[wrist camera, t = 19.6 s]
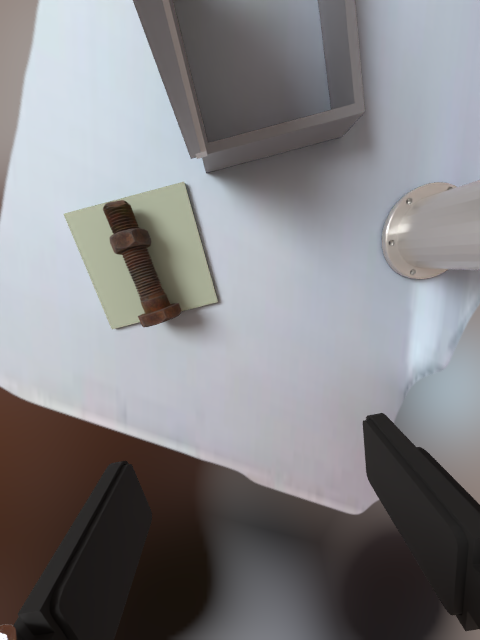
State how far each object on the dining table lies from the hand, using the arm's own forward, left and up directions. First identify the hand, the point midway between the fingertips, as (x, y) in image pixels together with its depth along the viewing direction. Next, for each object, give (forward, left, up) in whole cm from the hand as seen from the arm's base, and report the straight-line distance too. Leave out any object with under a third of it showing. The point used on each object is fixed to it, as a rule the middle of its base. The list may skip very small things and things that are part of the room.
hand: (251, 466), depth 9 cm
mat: (+10, -11, -26) cm, 30 cm away
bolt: (+10, -10, -26) cm, 29 cm away
